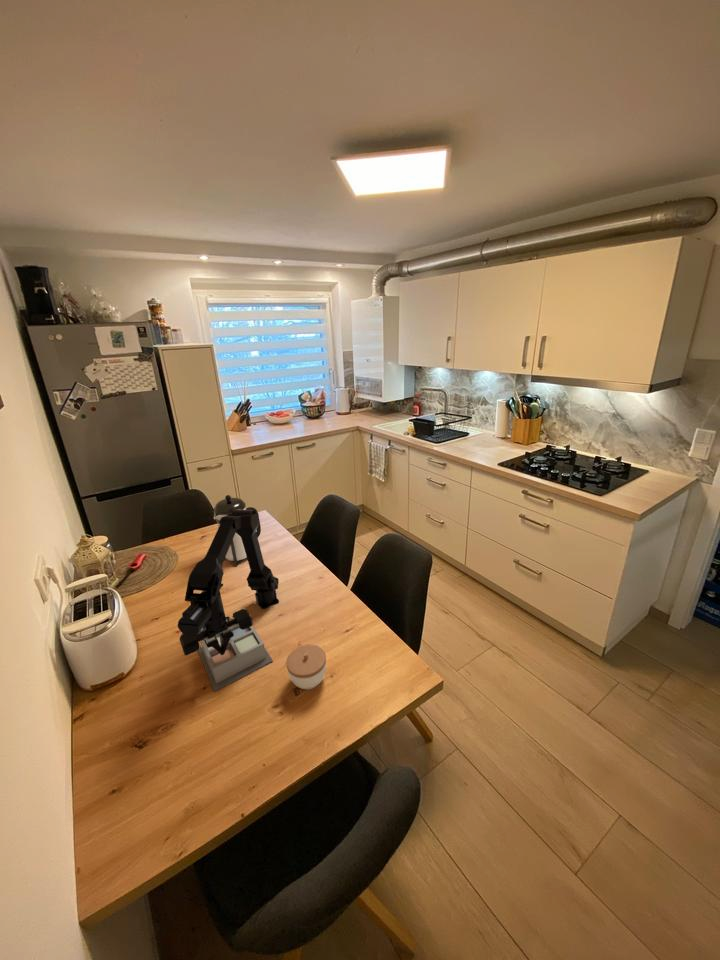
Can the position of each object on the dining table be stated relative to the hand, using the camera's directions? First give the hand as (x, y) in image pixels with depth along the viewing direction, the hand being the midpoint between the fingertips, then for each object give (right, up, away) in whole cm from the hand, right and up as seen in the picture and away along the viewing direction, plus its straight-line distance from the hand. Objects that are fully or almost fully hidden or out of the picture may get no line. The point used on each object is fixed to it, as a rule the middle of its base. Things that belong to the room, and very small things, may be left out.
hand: (222, 653), depth 110 cm
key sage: (+6, -2, +5) cm, 8 cm away
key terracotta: (0, -5, +2) cm, 5 cm away
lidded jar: (+25, -6, -3) cm, 26 cm away
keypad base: (+1, -4, +7) cm, 8 cm away
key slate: (+2, -1, +11) cm, 11 cm away
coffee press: (-14, +16, +61) cm, 65 cm away
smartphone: (-12, 0, +19) cm, 23 cm away
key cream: (-4, -3, +7) cm, 9 cm away
